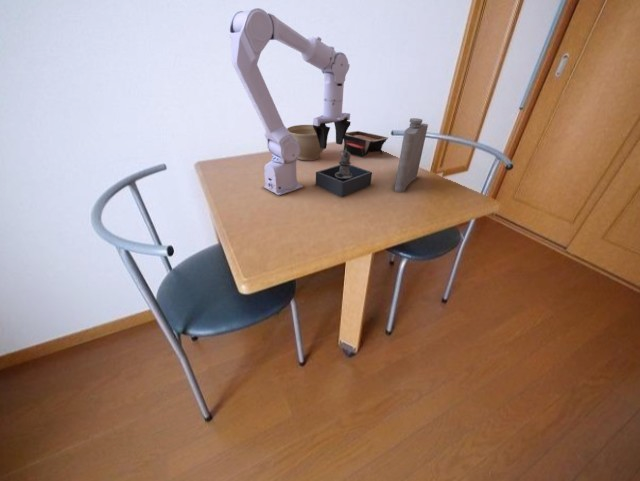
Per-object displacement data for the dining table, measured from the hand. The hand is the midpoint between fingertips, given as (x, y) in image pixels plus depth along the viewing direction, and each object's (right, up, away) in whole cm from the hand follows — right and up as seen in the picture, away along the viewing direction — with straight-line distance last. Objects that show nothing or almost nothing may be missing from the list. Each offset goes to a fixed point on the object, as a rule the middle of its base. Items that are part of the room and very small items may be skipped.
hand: (331, 146), depth 93 cm
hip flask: (+25, -12, +2) cm, 27 cm away
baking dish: (+15, +7, +29) cm, 33 cm away
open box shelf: (+4, -13, -1) cm, 14 cm away
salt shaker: (+4, -13, 0) cm, 14 cm away
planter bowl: (-9, +3, +23) cm, 24 cm away
